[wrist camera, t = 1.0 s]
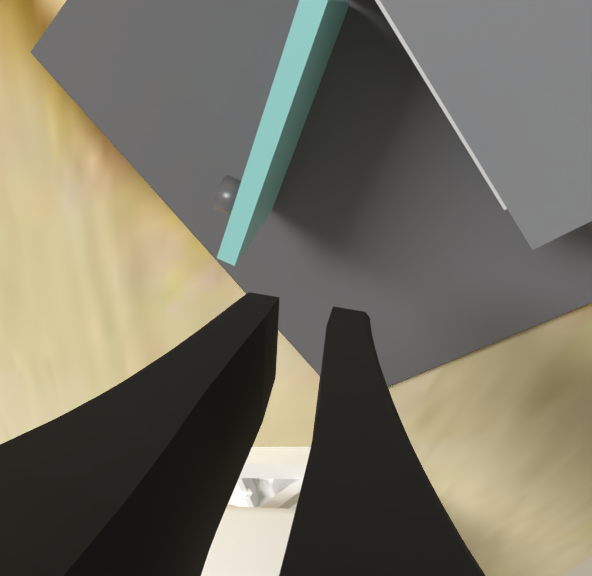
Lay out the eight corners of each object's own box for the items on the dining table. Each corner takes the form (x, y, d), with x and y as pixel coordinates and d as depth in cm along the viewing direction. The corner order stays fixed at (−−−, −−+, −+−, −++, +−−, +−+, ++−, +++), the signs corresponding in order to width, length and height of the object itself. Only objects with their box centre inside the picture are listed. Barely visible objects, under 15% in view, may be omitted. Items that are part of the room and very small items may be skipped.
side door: (370, -34, 13) (354, -53, 9) (276, 210, 18) (238, 268, 14) (316, -60, 13) (276, -90, 9) (235, 192, 18) (186, 244, 14)
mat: (939, -1219, 6) (963, -1273, 6) (1088, 89, 12) (1103, 90, 12) (36, 51, 17) (30, 52, 17) (345, 400, 23) (344, 404, 23)
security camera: (370, 513, 27) (354, 732, 19) (262, 508, 30) (206, 705, 21) (351, 440, 25) (323, 662, 16) (233, 441, 27) (154, 638, 18)
